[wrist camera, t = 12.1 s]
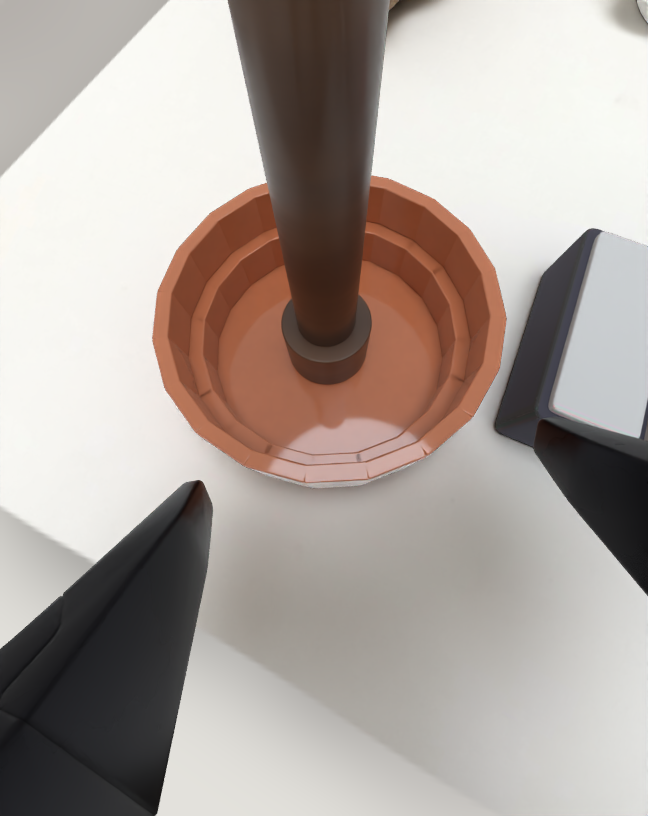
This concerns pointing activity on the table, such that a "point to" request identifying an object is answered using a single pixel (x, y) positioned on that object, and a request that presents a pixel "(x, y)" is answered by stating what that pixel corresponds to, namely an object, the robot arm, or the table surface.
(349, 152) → the pestle
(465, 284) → the mixing bowl
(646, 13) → the wheeled car silhouette
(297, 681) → the table surface
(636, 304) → the calculator
